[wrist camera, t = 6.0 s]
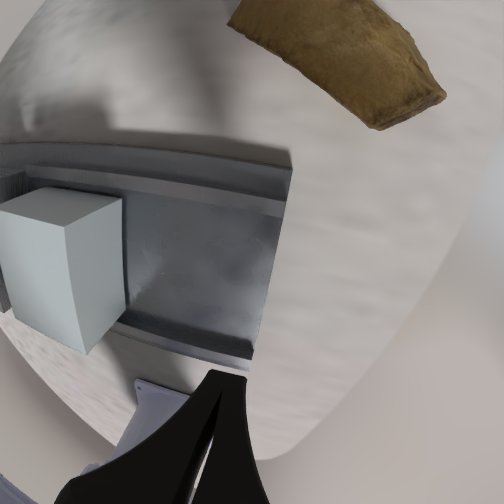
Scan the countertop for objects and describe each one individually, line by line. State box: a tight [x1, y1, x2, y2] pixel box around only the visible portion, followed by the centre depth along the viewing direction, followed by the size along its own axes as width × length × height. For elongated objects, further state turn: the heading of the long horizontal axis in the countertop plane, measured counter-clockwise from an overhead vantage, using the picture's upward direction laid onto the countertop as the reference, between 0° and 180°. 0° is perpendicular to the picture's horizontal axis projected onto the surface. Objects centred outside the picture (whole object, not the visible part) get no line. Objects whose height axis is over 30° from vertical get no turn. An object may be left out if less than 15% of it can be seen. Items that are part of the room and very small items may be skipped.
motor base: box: [0, 142, 293, 372], centre depth 16 cm, size 14×25×6 cm, turn 81°
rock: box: [227, 0, 447, 131], centre depth 9 cm, size 11×9×10 cm
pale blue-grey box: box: [0, 187, 126, 356], centre depth 16 cm, size 10×9×5 cm
